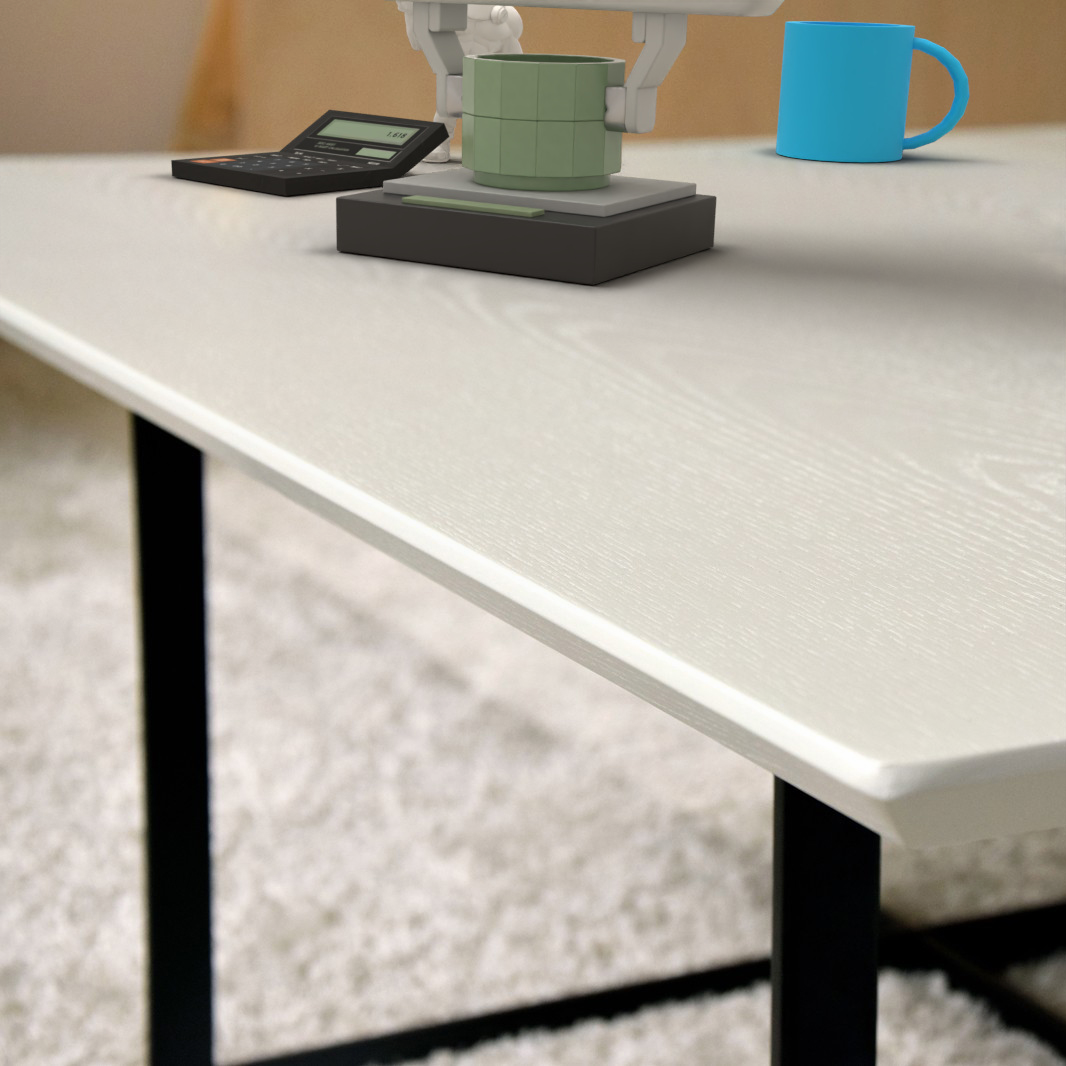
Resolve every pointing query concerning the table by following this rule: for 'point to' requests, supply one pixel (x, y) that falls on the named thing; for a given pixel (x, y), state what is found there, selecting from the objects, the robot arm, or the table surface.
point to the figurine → (473, 47)
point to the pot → (539, 121)
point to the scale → (528, 225)
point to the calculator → (325, 156)
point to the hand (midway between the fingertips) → (542, 124)
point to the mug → (855, 91)
